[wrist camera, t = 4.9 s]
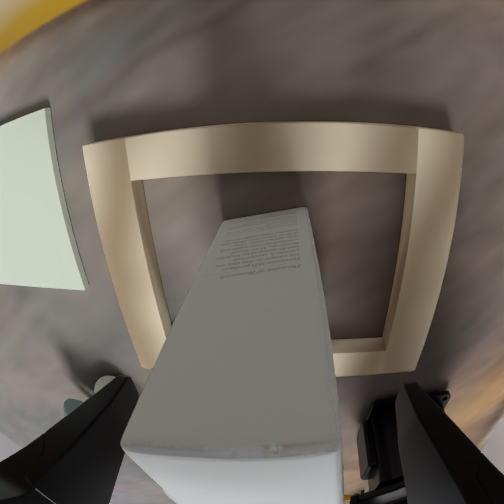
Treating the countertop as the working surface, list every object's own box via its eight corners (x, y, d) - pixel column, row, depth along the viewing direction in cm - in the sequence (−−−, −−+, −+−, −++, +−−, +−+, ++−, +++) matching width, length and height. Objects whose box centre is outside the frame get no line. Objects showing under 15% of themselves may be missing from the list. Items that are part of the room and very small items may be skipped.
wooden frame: (452, 130, 12) (464, 134, 11) (410, 357, 18) (414, 370, 17) (95, 142, 14) (82, 146, 13) (148, 355, 20) (142, 367, 19)
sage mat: (50, 107, 13) (44, 108, 13) (89, 285, 18) (85, 290, 18) (-44, 148, 15) (-49, 149, 14) (-9, 279, 20) (-12, 282, 19)
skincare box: (324, 307, 17) (344, 530, 6) (248, 317, 18) (209, 531, 7) (308, 200, 15) (347, 452, 4) (219, 216, 15) (106, 445, 5)
